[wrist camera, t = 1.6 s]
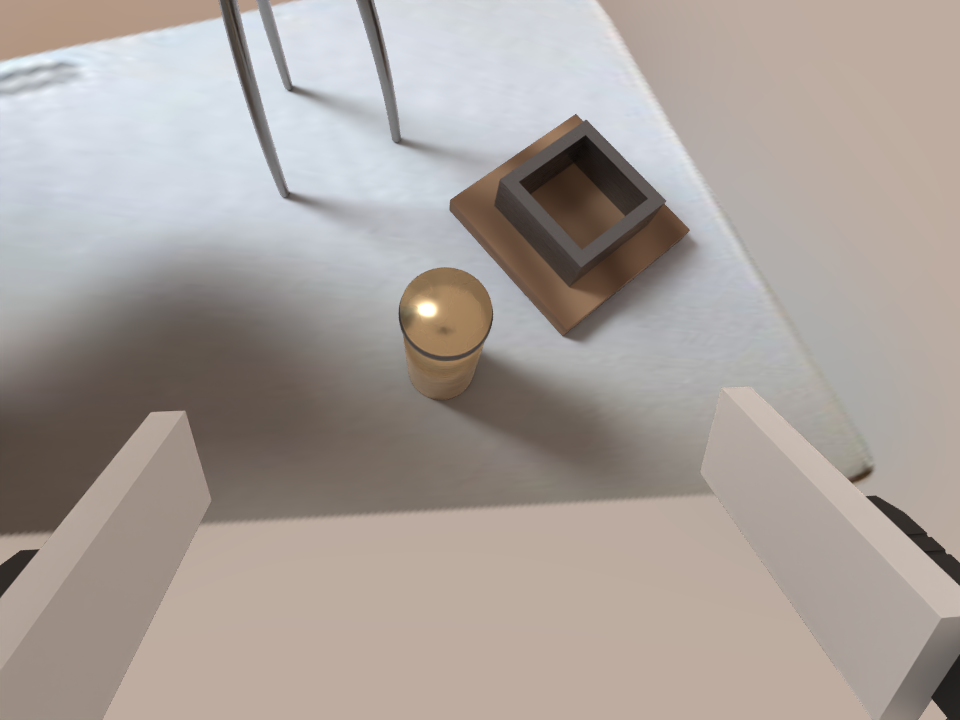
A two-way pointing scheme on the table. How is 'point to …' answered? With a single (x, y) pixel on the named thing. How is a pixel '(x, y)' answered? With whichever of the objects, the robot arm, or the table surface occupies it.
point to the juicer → (250, 85)
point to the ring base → (580, 218)
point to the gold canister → (444, 330)
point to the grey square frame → (604, 172)
